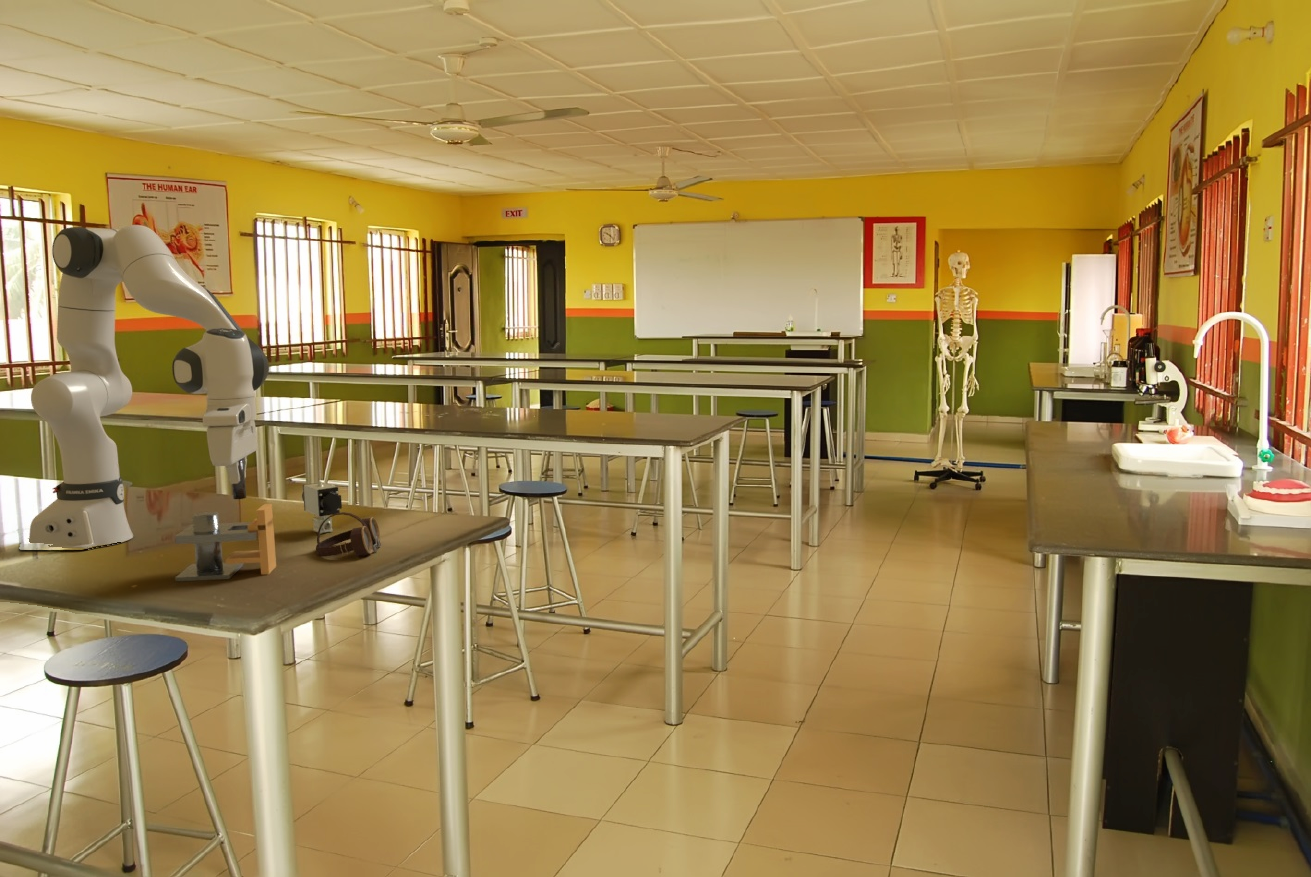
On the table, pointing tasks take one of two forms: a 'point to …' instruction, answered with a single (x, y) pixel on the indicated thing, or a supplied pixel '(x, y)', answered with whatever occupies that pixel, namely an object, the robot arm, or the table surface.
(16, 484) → the table surface
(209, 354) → the robot arm
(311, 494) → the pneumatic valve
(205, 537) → the double plate spool
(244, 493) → the pin
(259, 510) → the bracket
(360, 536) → the goggles
